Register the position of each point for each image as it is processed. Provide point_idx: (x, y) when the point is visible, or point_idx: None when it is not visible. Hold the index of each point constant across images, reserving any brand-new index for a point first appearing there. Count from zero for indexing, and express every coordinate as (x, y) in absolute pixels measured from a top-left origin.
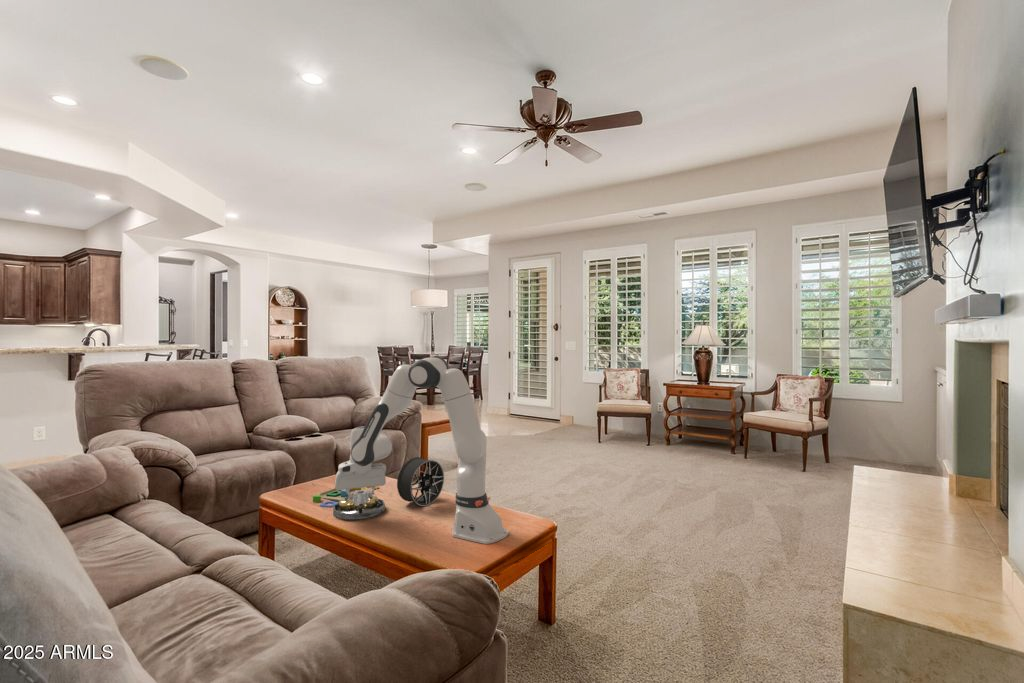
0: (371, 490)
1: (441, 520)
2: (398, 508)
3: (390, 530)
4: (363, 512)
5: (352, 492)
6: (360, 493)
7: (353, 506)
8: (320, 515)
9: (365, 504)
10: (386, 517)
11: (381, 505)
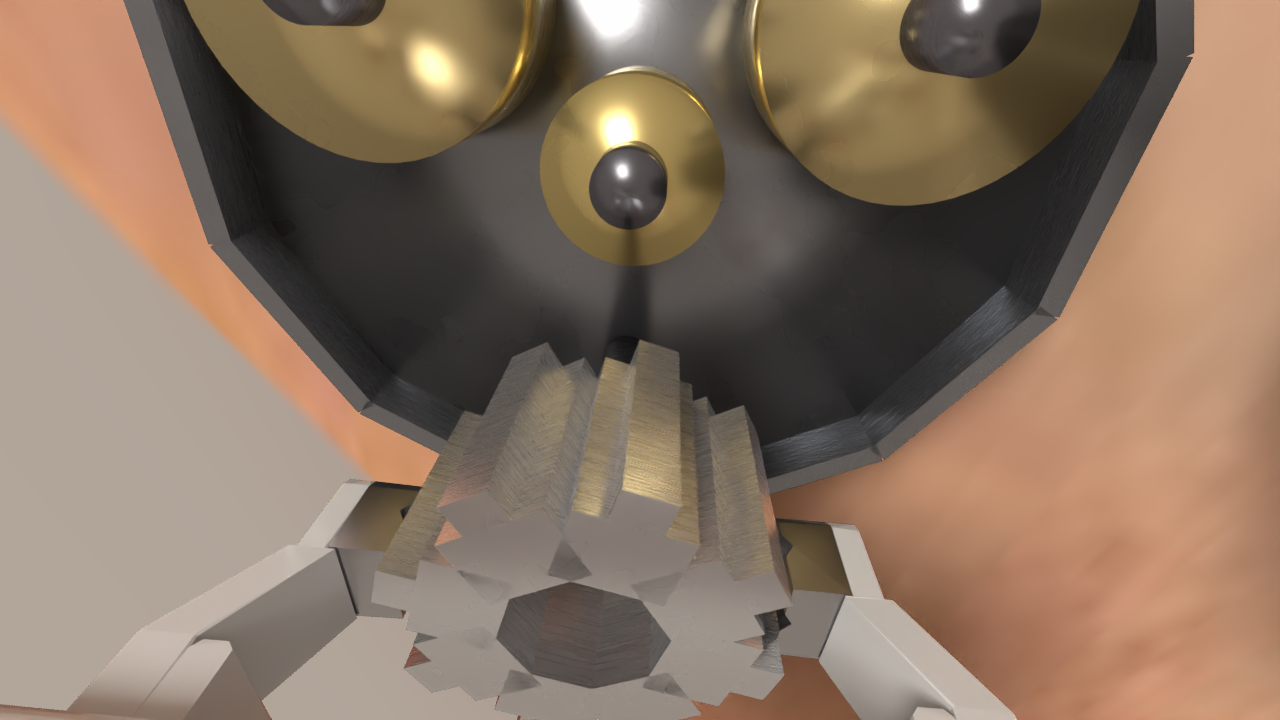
0: (874, 656)
1: (1270, 704)
2: (1228, 265)
3: (798, 699)
4: (671, 348)
5: (377, 593)
6: (571, 700)
7: (542, 57)
8: (49, 63)
9: (765, 118)
10: (896, 486)
11: (1044, 150)
